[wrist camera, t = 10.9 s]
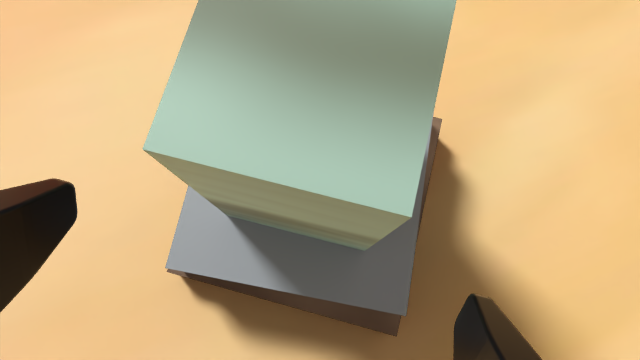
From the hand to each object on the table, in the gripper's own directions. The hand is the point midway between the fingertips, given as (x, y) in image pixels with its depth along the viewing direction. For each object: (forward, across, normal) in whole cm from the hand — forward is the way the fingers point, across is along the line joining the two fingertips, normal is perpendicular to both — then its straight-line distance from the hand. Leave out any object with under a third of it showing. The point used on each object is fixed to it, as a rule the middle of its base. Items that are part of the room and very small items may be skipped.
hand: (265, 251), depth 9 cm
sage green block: (+9, 0, +2) cm, 10 cm away
